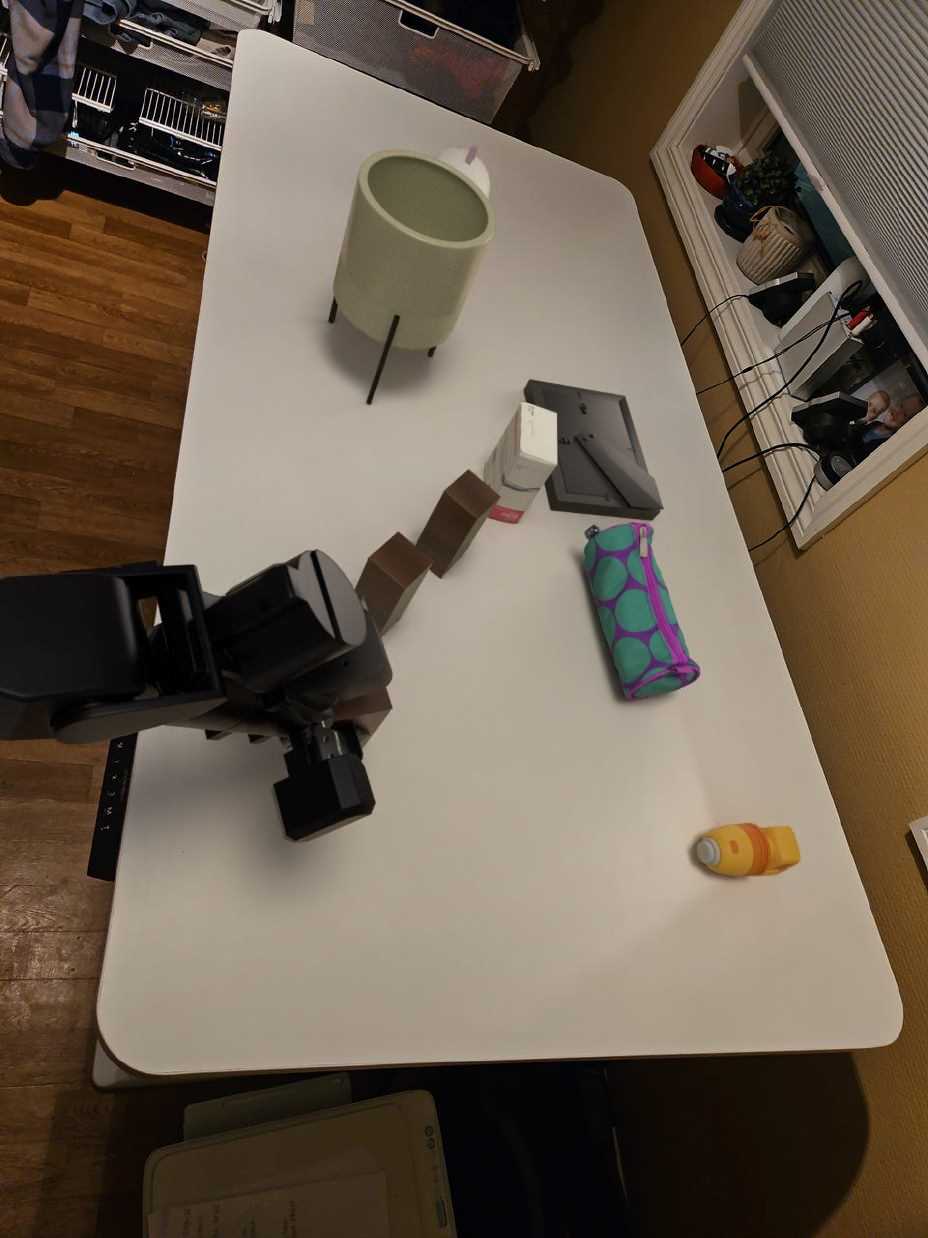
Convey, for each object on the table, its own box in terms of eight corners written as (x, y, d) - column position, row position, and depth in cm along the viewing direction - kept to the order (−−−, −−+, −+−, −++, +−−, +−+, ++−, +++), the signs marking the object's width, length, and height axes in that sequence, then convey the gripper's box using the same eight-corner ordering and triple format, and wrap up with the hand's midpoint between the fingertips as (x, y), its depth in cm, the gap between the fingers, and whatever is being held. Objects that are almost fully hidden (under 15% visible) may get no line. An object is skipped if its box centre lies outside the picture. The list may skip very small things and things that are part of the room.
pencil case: (565, 552, 91) (603, 508, 83) (624, 553, 94) (666, 511, 86) (610, 707, 82) (657, 675, 74) (672, 703, 86) (724, 671, 78)
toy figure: (693, 883, 76) (783, 876, 80) (725, 875, 71) (819, 867, 75) (680, 831, 78) (768, 826, 82) (711, 820, 73) (803, 815, 77)
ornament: (475, 248, 114) (505, 175, 104) (413, 227, 111) (437, 150, 101) (475, 209, 119) (503, 136, 109) (415, 188, 115) (438, 111, 106)
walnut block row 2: (440, 578, 82) (477, 519, 72) (410, 553, 82) (443, 490, 73) (462, 556, 85) (501, 496, 75) (433, 532, 85) (468, 468, 75)
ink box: (517, 525, 90) (559, 466, 80) (480, 515, 89) (519, 454, 79) (518, 473, 94) (559, 410, 84) (483, 462, 93) (521, 398, 83)
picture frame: (652, 520, 99) (617, 405, 108) (663, 508, 96) (627, 391, 105) (550, 510, 93) (523, 389, 102) (560, 497, 91) (531, 374, 100)
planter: (308, 385, 89) (346, 214, 70) (330, 302, 97) (370, 129, 78) (425, 422, 93) (492, 270, 74) (437, 340, 101) (500, 184, 82)
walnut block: (374, 644, 75) (405, 589, 66) (342, 616, 76) (368, 557, 66) (400, 618, 78) (434, 561, 68) (369, 591, 78) (398, 530, 68)
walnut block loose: (305, 770, 60) (333, 721, 50) (292, 720, 62) (316, 663, 52) (357, 757, 62) (393, 708, 52) (342, 709, 64) (375, 652, 54)
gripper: (381, 781, 38) (485, 783, 52) (291, 491, 44) (406, 562, 58) (216, 855, 41) (357, 837, 55) (155, 572, 47) (295, 621, 61)
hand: (356, 708), depth 57 cm, fingers closed on walnut block loose, 4 cm apart
